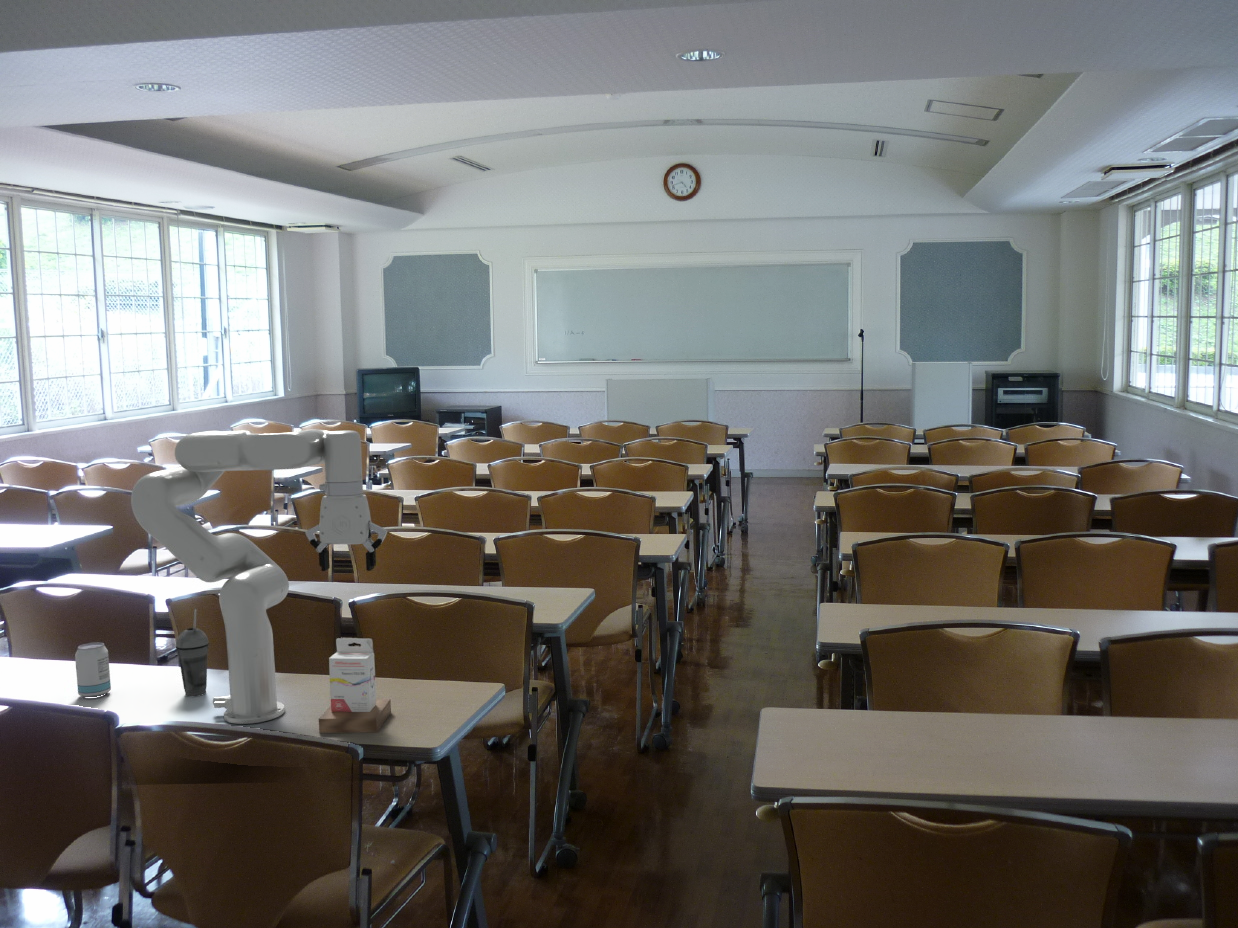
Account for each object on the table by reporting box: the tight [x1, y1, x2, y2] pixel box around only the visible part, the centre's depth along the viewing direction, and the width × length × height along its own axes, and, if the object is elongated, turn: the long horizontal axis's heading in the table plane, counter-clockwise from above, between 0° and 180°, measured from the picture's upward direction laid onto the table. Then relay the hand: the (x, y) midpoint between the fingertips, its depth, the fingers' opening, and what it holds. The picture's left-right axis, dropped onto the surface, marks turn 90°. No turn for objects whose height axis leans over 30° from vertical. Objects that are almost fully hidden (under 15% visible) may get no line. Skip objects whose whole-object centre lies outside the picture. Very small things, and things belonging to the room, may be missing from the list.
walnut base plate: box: [318, 698, 392, 734], centre depth 224 cm, size 12×12×3 cm
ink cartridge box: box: [328, 637, 377, 712], centre depth 223 cm, size 9×5×15 cm, turn 85°
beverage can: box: [74, 642, 112, 698], centre depth 247 cm, size 7×7×12 cm
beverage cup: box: [175, 608, 210, 697], centre depth 246 cm, size 7×7×20 cm
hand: (347, 569), depth 223 cm, fingers open, 9 cm apart
